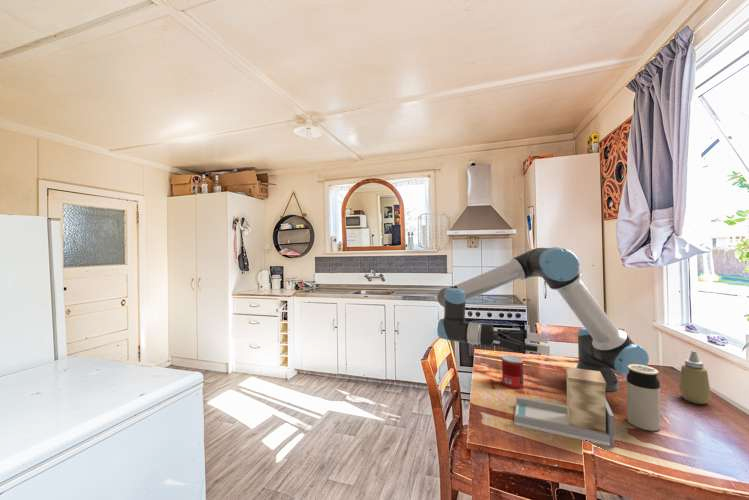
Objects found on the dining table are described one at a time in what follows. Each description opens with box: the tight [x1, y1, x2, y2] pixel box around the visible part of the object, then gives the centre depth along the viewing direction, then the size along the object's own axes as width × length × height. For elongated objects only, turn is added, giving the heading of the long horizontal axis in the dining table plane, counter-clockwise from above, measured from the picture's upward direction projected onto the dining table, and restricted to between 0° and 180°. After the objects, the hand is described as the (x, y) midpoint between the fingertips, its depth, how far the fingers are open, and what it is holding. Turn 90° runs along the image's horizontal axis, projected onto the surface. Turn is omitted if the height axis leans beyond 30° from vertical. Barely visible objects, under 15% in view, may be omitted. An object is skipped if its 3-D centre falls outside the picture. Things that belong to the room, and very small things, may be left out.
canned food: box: [501, 354, 524, 389], centre depth 128 cm, size 8×8×11 cm
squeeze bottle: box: [678, 350, 711, 405], centre depth 113 cm, size 8×8×18 cm
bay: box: [513, 396, 615, 448], centre depth 100 cm, size 26×14×9 cm, turn 63°
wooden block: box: [565, 366, 606, 433], centre depth 97 cm, size 9×9×16 cm
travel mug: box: [626, 364, 661, 432], centre depth 98 cm, size 8×8×18 cm
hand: (548, 344), depth 101 cm, fingers open, 13 cm apart
